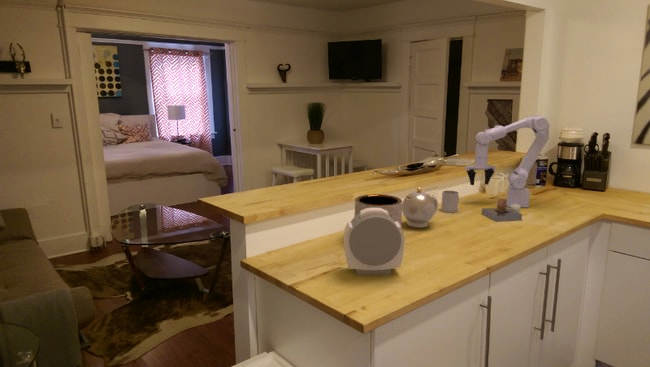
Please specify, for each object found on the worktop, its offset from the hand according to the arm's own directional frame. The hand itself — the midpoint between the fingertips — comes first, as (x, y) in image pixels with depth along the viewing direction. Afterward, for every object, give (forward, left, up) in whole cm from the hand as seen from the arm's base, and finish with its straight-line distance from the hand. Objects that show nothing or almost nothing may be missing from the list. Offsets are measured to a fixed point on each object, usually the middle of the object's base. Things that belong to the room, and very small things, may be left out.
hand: (479, 184), depth 216 cm
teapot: (+41, +27, -10) cm, 50 cm away
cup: (+18, +8, -10) cm, 22 cm away
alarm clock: (+74, +69, -10) cm, 102 cm away
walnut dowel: (+1, +22, -10) cm, 24 cm away
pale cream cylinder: (-8, +18, -10) cm, 22 cm away
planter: (+64, +41, -10) cm, 77 cm away
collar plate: (+1, +22, -10) cm, 24 cm away
